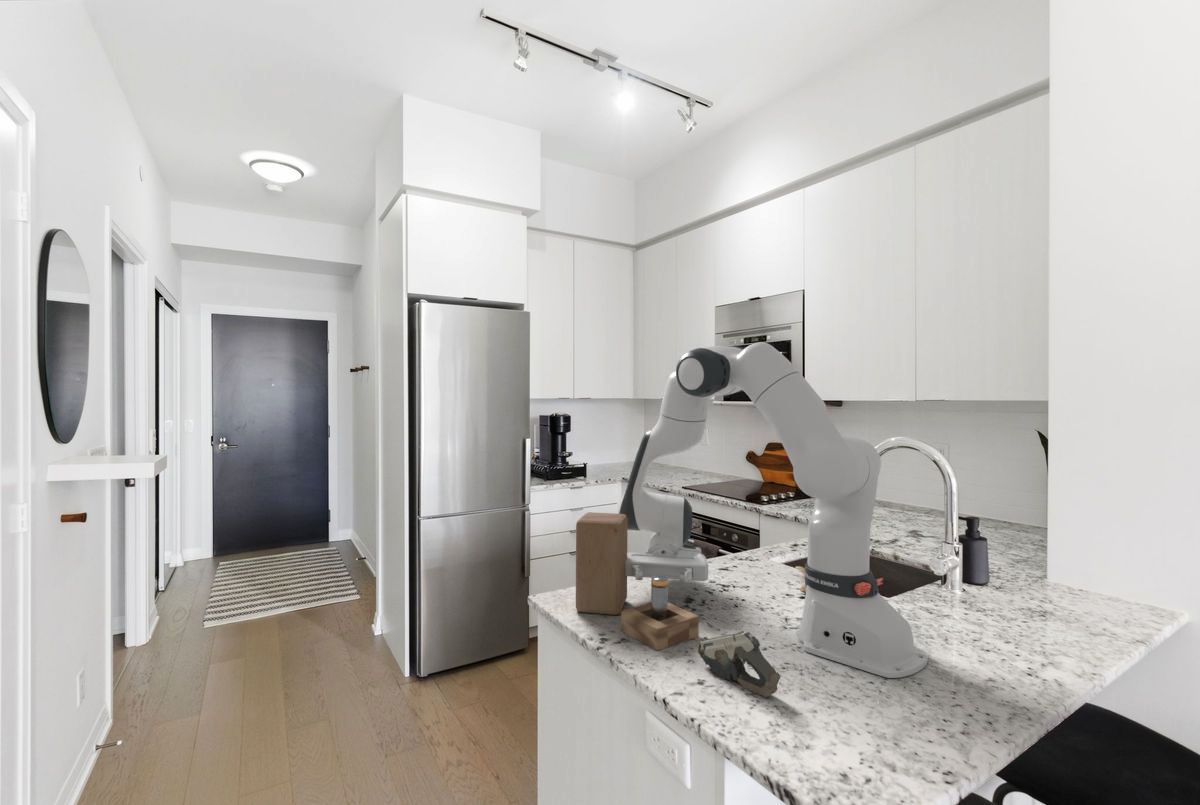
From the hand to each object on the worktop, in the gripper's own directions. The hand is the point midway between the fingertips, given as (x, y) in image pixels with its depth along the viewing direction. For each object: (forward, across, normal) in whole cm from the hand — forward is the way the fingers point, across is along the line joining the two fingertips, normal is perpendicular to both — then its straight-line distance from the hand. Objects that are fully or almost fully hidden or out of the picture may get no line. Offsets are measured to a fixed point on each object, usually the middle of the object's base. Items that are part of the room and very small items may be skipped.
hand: (661, 577), depth 123 cm
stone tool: (-26, +40, +9) cm, 49 cm away
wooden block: (-3, -13, +8) cm, 16 cm away
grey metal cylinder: (+9, 0, +8) cm, 12 cm away
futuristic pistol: (+25, +14, +8) cm, 30 cm away
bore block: (+9, 0, +8) cm, 12 cm away
